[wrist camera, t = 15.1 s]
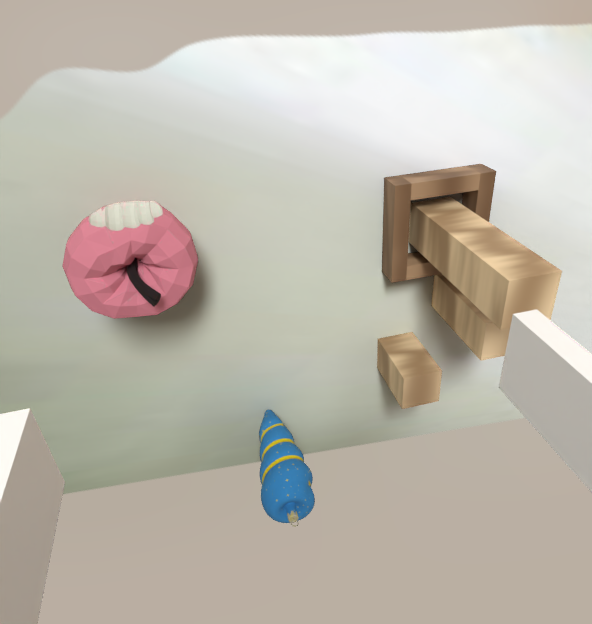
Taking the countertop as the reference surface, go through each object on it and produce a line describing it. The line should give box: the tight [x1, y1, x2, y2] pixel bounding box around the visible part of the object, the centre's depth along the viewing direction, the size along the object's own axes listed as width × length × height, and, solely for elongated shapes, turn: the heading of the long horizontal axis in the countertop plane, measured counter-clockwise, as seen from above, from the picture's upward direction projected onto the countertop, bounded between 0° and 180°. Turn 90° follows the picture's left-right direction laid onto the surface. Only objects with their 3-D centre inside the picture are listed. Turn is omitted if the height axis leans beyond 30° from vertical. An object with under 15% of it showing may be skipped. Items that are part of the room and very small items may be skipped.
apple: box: [63, 200, 198, 318], centre depth 39 cm, size 10×9×10 cm
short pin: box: [377, 332, 442, 409], centre depth 53 cm, size 4×4×7 cm
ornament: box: [259, 410, 315, 526], centre depth 50 cm, size 5×5×15 cm
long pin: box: [409, 197, 562, 330], centre depth 42 cm, size 4×4×16 cm
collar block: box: [382, 164, 496, 283], centre depth 48 cm, size 10×10×2 cm
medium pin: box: [431, 274, 510, 360], centre depth 49 cm, size 4×4×10 cm
